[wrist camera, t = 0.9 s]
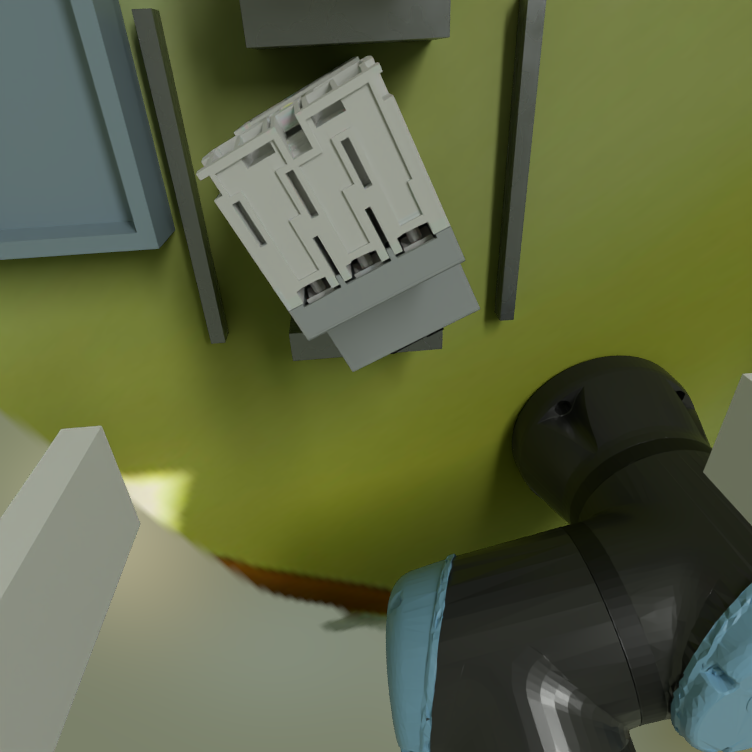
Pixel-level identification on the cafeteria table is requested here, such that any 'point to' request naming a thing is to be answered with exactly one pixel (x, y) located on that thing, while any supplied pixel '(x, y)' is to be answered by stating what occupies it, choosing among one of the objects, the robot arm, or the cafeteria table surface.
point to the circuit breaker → (343, 216)
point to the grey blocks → (343, 27)
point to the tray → (74, 135)
